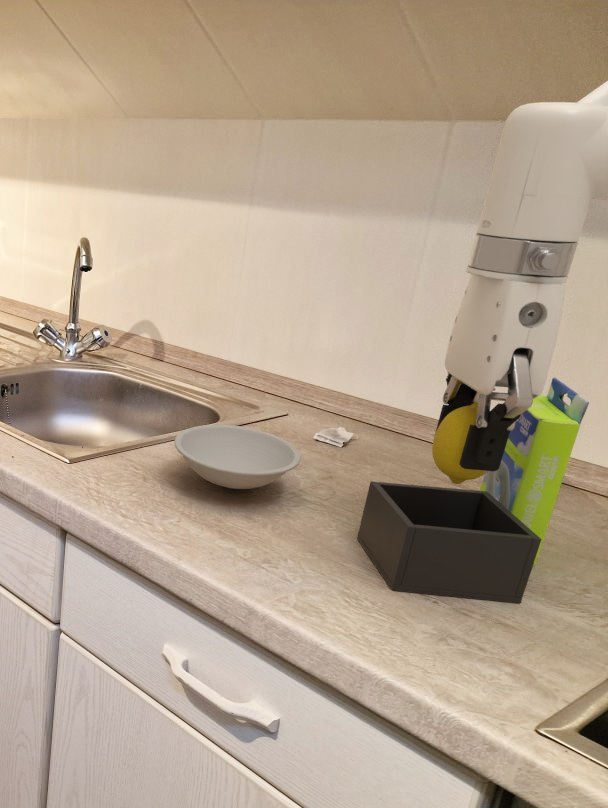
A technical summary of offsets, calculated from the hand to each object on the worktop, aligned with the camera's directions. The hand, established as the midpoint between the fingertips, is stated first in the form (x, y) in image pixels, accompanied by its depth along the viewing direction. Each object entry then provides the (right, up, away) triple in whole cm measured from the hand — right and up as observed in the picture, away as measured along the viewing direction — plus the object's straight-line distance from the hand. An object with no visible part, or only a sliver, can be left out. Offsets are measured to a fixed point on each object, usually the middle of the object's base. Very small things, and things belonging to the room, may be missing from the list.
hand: (464, 455), depth 80 cm
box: (+10, -9, +11) cm, 18 cm away
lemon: (0, -3, +1) cm, 3 cm away
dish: (-15, -3, +23) cm, 28 cm away
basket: (0, -11, +4) cm, 12 cm away
